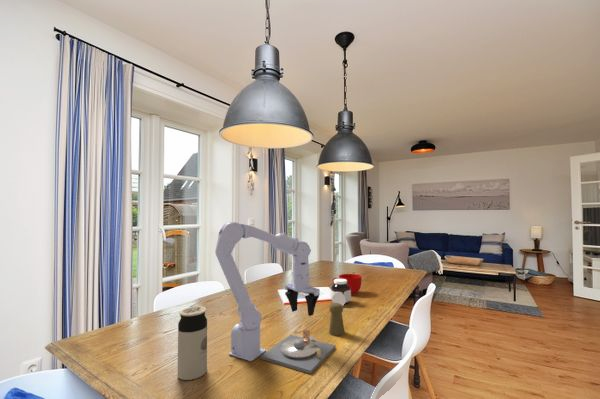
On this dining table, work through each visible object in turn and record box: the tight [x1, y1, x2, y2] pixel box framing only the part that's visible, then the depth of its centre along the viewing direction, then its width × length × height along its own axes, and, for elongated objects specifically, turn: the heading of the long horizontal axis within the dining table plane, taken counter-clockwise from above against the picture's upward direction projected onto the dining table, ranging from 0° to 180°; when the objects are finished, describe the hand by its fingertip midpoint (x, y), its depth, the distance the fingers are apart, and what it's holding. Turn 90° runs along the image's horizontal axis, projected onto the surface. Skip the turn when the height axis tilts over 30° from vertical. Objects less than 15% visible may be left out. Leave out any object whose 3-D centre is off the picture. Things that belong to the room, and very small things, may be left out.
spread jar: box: [330, 278, 352, 307], centre depth 144 cm, size 12×11×12 cm
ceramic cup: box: [331, 273, 363, 296], centre depth 163 cm, size 13×17×10 cm
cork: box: [328, 302, 346, 337], centre depth 109 cm, size 6×6×11 cm
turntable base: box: [260, 334, 336, 375], centre depth 92 cm, size 18×18×4 cm
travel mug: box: [177, 305, 208, 381], centre depth 82 cm, size 8×8×18 cm
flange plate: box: [281, 329, 318, 359], centre depth 94 cm, size 12×15×4 cm
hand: (302, 312), depth 100 cm, fingers open, 7 cm apart
